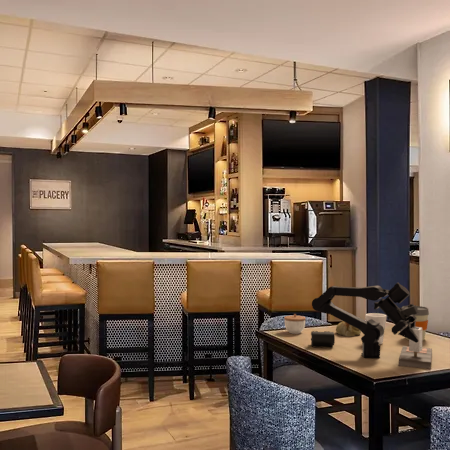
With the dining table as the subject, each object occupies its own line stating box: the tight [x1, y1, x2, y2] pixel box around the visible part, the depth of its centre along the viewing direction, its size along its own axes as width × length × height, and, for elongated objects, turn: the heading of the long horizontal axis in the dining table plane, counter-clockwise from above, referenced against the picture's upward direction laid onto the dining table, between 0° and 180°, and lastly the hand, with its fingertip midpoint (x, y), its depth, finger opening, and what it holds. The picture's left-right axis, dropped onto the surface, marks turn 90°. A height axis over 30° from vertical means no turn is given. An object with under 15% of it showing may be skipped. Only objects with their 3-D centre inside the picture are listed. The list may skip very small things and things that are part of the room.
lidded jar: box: [284, 313, 307, 335], centre depth 279 cm, size 11×11×9 cm
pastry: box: [335, 320, 362, 338], centre depth 277 cm, size 14×12×8 cm
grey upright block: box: [408, 327, 423, 352], centre depth 222 cm, size 4×5×9 cm
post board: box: [398, 345, 433, 370], centre depth 227 cm, size 24×12×6 cm, turn 158°
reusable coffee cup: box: [401, 305, 430, 341], centre depth 266 cm, size 13×13×15 cm
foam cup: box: [364, 312, 387, 345], centre depth 257 cm, size 10×9×13 cm
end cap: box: [310, 330, 336, 348], centre depth 250 cm, size 10×7×7 cm
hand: (419, 340), depth 221 cm, fingers closed on grey upright block, 5 cm apart
